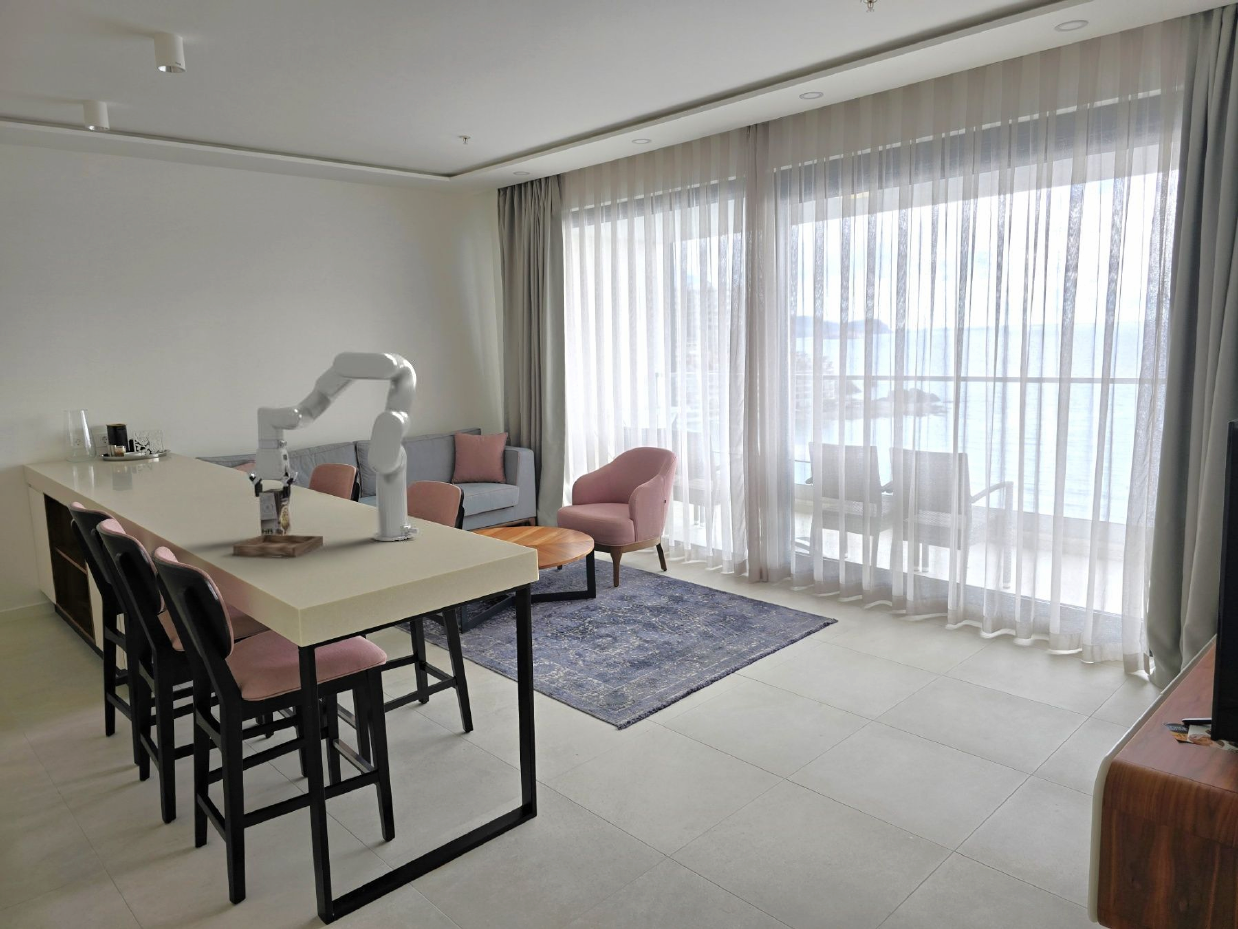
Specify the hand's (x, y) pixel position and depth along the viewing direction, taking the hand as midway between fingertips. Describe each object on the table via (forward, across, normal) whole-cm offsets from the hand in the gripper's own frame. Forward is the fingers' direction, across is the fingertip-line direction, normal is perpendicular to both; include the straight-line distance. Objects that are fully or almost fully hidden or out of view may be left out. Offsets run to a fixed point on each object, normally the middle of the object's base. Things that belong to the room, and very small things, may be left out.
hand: (272, 497), depth 264 cm
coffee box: (+14, -1, 0) cm, 14 cm away
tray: (+14, -11, +15) cm, 23 cm away
